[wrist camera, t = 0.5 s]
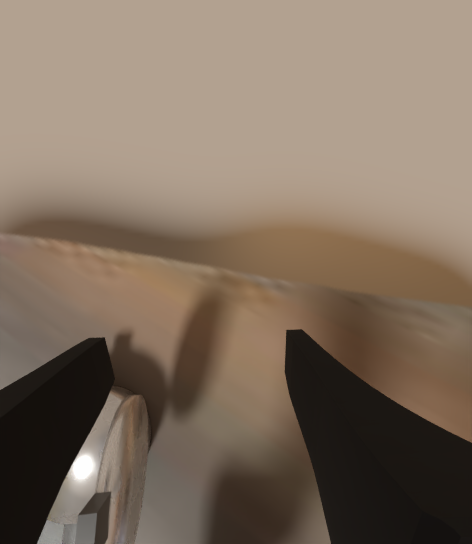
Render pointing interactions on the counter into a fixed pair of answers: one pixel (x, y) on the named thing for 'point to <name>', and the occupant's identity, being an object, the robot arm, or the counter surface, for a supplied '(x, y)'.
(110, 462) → the cooker lid
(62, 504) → the cooker pot
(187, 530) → the counter surface
